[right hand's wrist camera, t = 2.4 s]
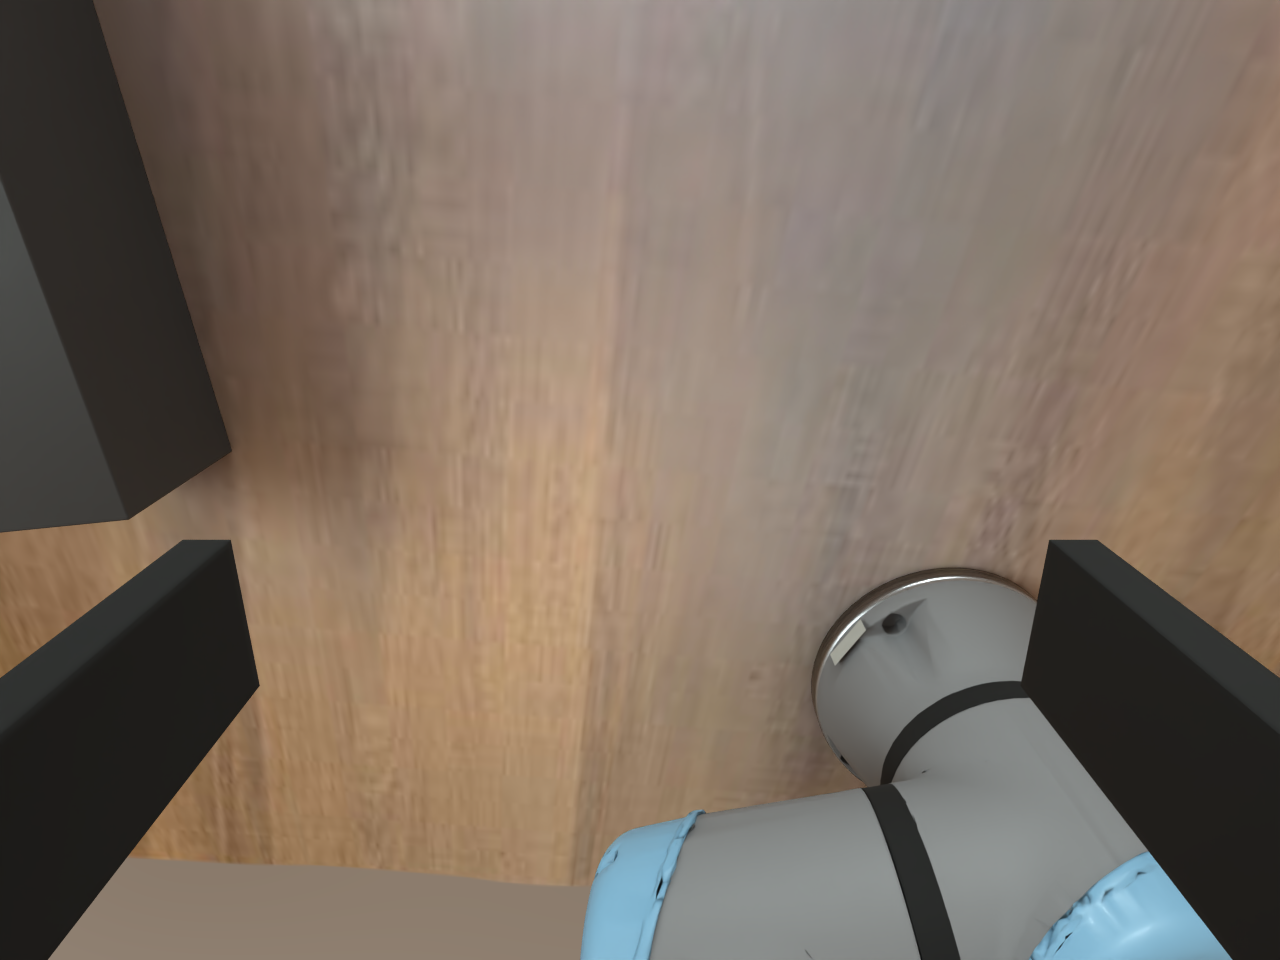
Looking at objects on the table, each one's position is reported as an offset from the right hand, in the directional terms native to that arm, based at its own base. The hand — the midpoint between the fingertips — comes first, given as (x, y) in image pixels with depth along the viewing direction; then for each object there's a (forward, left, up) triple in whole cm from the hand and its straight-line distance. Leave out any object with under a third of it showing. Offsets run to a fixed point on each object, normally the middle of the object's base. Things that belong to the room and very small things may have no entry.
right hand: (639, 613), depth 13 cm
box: (+1, +28, -30) cm, 41 cm away
